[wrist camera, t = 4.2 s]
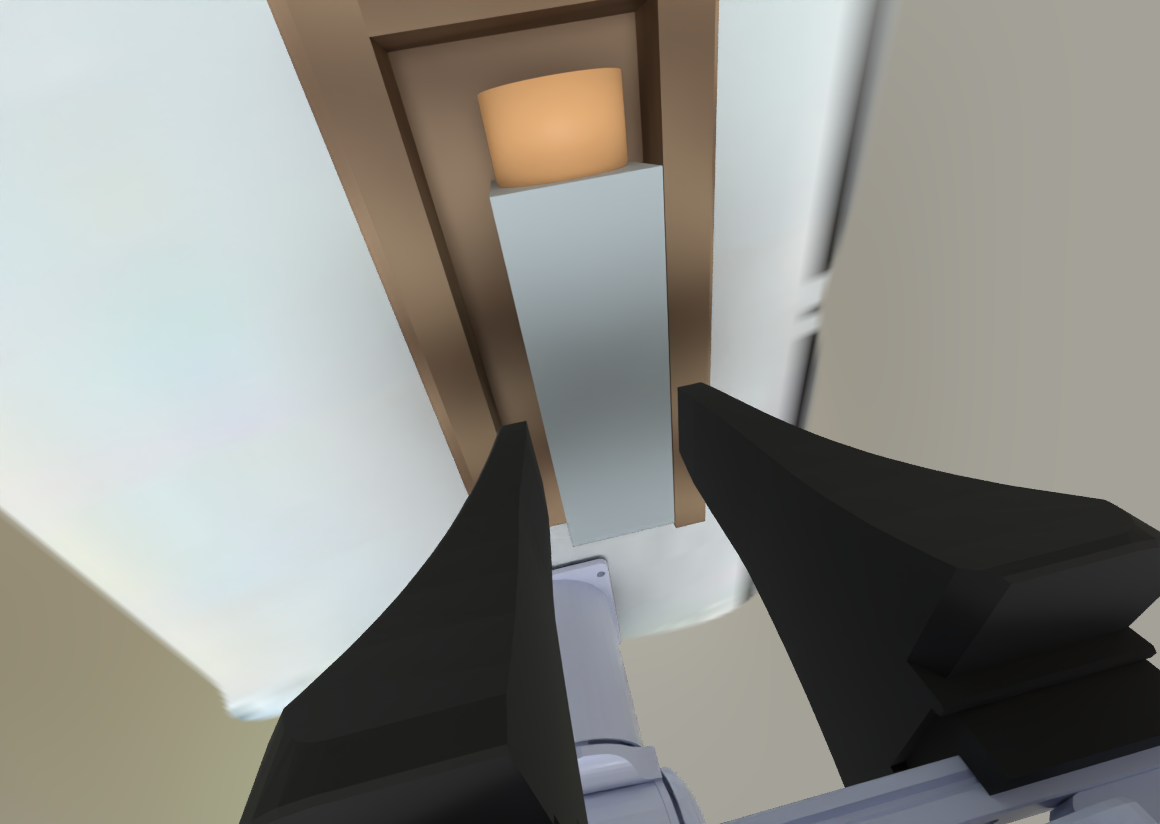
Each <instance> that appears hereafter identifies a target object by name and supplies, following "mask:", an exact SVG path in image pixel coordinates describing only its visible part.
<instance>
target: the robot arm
mask: <svg viewBox="0 0 1160 824" xmlns="http://www.w3.org/2000/svg"><path fill="white" fill-rule="evenodd" d="M677 391H678V431H679V452H680V455H681V457H682V459H683V461H684V464H685V466H686V468H687V470H688V472H689V475H690V477H691V479H692V481H693V483H694V485H695V486H696V488H697V490H698V491H699V493H700V495H701V496H702V498H703V499H704V501H705V503H706V504H707V506H708V507H709V509H710V511H711V512H712V514H713V515H714V517H715V519H716V520H717V522H718V523H719V525H720V526H721V528H722V530H723V531H724V533H725V534H726V536H727V537H728V539H729V541H730V542H731V544H732V545H733V547H734V549H735V550H736V552H737V553H738V555H739V557H740V558H741V560H742V562H743V564H744V565H745V567H746V569H747V571H748V572H749V574H750V576H751V578H752V580H753V582H754V584H755V586H756V588H757V590H758V592H759V594H760V596H761V598H762V600H763V602H764V604H765V606H766V608H767V611H768V612H769V615H770V617H771V619H772V621H773V623H774V625H775V627H776V629H777V631H778V634H779V636H780V638H781V640H782V642H783V644H784V646H785V648H786V651H787V653H788V655H789V657H790V660H791V662H792V664H793V666H794V668H795V671H796V673H797V675H798V677H799V680H800V682H801V684H802V686H803V689H804V691H805V693H806V695H807V698H808V700H809V702H810V704H811V707H812V709H813V712H814V714H815V716H816V719H817V721H818V723H819V726H820V728H821V731H822V733H823V735H824V737H825V740H826V742H827V745H828V747H829V750H830V752H831V754H832V757H833V759H834V761H835V764H836V767H837V769H838V772H839V774H840V776H841V779H842V781H843V784H844V787H845V788H843V789H839V790H836V791H832V792H829V793H825V794H822V795H819V796H815V797H812V798H808V799H804V800H801V801H798V802H794V803H791V804H787V805H784V806H781V807H777V808H773V809H770V810H766V811H763V812H759V813H756V814H752V815H749V816H746V817H742V818H738V819H735V820H731V821H728V822H724V823H721V824H1007V823H1010V822H1014V821H1017V820H1020V819H1023V818H1027V817H1030V816H1034V815H1037V814H1040V813H1043V812H1047V811H1050V810H1052V811H1050V822H1049V823H1046V824H1160V670H1159V669H1158V668H1156V667H1155V666H1154V665H1152V664H1151V663H1150V662H1149V661H1147V660H1146V659H1147V658H1151V657H1152V656H1153V655H1154V654H1156V650H1155V648H1154V646H1153V645H1152V644H1150V643H1149V642H1148V641H1147V640H1145V639H1144V638H1142V637H1141V636H1140V635H1139V634H1137V633H1136V632H1135V631H1133V630H1132V629H1131V628H1129V625H1130V624H1132V623H1133V622H1134V621H1135V620H1136V619H1137V618H1138V617H1139V616H1140V615H1141V614H1142V613H1143V612H1144V611H1145V610H1146V609H1147V608H1148V607H1149V606H1150V605H1151V604H1152V603H1153V602H1154V601H1155V600H1156V599H1157V598H1158V597H1160V532H1159V531H1158V530H1156V529H1155V528H1153V527H1151V526H1149V525H1148V524H1146V523H1144V522H1143V521H1141V520H1139V519H1138V518H1136V517H1134V516H1133V515H1131V514H1129V513H1128V512H1126V511H1124V510H1123V509H1121V508H1119V507H1118V506H1116V505H1114V504H1112V503H1110V502H1108V501H1106V500H1103V499H1096V498H1089V497H1083V496H1076V495H1069V494H1062V493H1056V492H1049V491H1042V490H1036V489H1029V488H1023V487H1015V486H1010V485H1005V484H999V483H994V482H989V481H984V480H979V479H973V478H969V477H964V476H959V475H954V474H950V473H945V472H941V471H936V470H932V469H928V468H924V467H920V466H916V465H912V464H908V463H904V462H901V461H897V460H893V459H889V458H885V457H882V456H878V455H875V454H872V453H868V452H865V451H862V450H859V449H856V448H853V447H850V446H847V445H844V444H841V443H838V442H835V441H832V440H829V439H827V438H824V437H821V436H818V435H816V434H813V433H811V432H808V431H806V430H804V429H801V428H799V427H796V426H794V425H791V424H789V423H787V422H784V421H782V420H780V419H778V418H775V417H773V416H771V415H769V414H767V413H764V412H762V411H760V410H758V409H756V408H754V407H752V406H750V405H748V404H746V403H744V402H742V401H740V400H738V399H736V398H734V397H732V396H730V395H728V394H726V393H724V392H721V391H719V390H717V389H715V388H713V387H711V386H709V385H707V384H704V383H702V382H699V383H695V384H690V385H686V386H681V387H677ZM620 643H621V637H620V632H619V626H618V621H617V615H616V609H615V604H614V598H613V593H612V587H611V581H610V576H609V570H608V565H607V562H606V560H604V559H596V560H592V561H588V562H584V563H579V564H575V565H571V566H567V567H563V568H559V569H555V570H552V562H551V544H550V527H549V515H548V509H547V503H546V498H545V492H544V486H543V481H542V477H541V474H540V470H539V466H538V463H537V459H536V455H535V451H534V448H533V444H532V440H531V436H530V433H529V429H528V425H527V421H523V422H518V423H513V424H509V425H504V426H501V428H500V429H499V431H498V433H497V436H496V439H495V441H494V444H493V447H492V449H491V451H490V454H489V456H488V458H487V461H486V463H485V465H484V467H483V469H482V471H481V473H480V475H479V477H478V479H477V481H476V483H475V485H474V487H473V489H472V491H471V493H470V495H469V496H468V498H467V500H466V502H465V503H464V505H463V507H462V509H461V510H460V512H459V514H458V516H457V517H456V519H455V520H454V522H453V524H452V525H451V527H450V528H449V530H448V531H447V533H446V534H445V536H444V537H443V539H442V540H441V542H440V543H439V544H438V546H437V547H436V549H435V550H434V552H433V553H432V554H431V556H430V557H429V558H428V560H427V561H426V562H425V563H424V565H423V566H422V567H421V569H420V570H419V571H418V572H417V574H416V575H415V576H414V577H413V579H412V580H411V581H410V582H409V583H408V585H407V586H406V587H405V588H404V590H403V591H402V592H401V593H400V594H399V596H398V597H397V598H396V599H395V600H394V601H393V602H392V603H391V604H390V606H389V607H388V608H387V609H386V610H385V611H384V612H383V613H382V614H381V615H380V617H379V618H378V619H377V620H376V621H375V622H374V623H373V624H372V625H371V626H370V627H369V628H368V629H367V630H366V631H365V632H364V633H363V634H362V635H361V636H360V637H359V638H358V639H357V640H356V641H355V642H354V643H353V644H352V645H351V646H350V647H349V648H348V649H347V650H346V651H345V652H344V653H343V654H342V655H341V656H340V657H339V658H338V659H337V660H336V661H335V662H334V663H333V664H332V665H330V666H329V667H328V668H327V669H326V670H325V671H324V672H323V673H322V674H321V675H320V676H319V677H318V678H317V679H316V680H314V681H313V682H312V683H311V684H310V685H309V686H308V687H307V688H306V689H305V690H304V691H303V692H302V693H301V694H299V695H298V696H297V697H296V698H295V699H294V700H293V701H292V702H291V703H289V704H288V705H287V706H286V707H285V708H284V709H283V711H282V714H281V716H280V718H279V721H278V723H277V725H276V727H275V730H274V732H273V734H272V736H271V739H270V741H269V743H268V746H267V749H266V752H265V754H264V757H263V760H262V762H261V765H260V768H259V771H258V773H257V776H256V779H255V782H254V785H253V788H252V790H251V793H250V795H249V798H248V801H247V804H246V806H245V809H244V812H243V815H242V817H241V820H240V822H239V824H706V822H705V819H704V817H703V814H702V812H701V809H700V807H699V805H698V803H697V801H696V799H695V797H694V795H693V793H692V791H691V790H690V788H689V787H688V786H687V784H686V783H685V782H684V781H683V780H681V779H680V778H679V776H678V775H677V774H676V773H675V772H674V771H673V770H672V769H671V768H669V767H663V768H660V767H659V763H658V760H657V756H656V752H655V748H654V746H647V747H644V745H643V741H642V737H641V733H640V729H639V725H638V721H637V717H636V713H635V709H634V705H633V701H632V697H631V693H630V689H629V685H628V681H627V677H626V673H625V669H624V664H623V660H622V656H621V652H620V648H619V644H620Z"/></svg>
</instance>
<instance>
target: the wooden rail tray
mask: <svg viewBox="0 0 1160 824" xmlns="http://www.w3.org/2000/svg"><path fill="white" fill-rule="evenodd" d="M267 2H268V5H269V7H270V9H271V12H272V14H273V17H274V19H275V22H276V24H277V27H278V29H279V31H280V34H281V36H282V39H283V41H284V44H285V46H286V49H287V51H288V54H289V56H290V58H291V61H292V63H293V66H294V68H295V71H296V73H297V76H298V78H299V81H300V83H301V85H302V88H303V90H304V93H305V95H306V98H307V100H308V103H309V105H310V107H311V110H312V112H313V115H314V117H315V120H316V122H317V125H318V127H319V130H320V132H321V134H322V137H323V139H324V142H325V144H326V147H327V149H328V152H329V154H330V157H331V159H332V161H333V164H334V166H335V169H336V171H337V174H338V176H339V179H340V181H341V183H342V186H343V188H344V191H345V193H346V196H347V198H348V201H349V203H350V206H351V208H352V210H353V213H354V215H355V218H356V220H357V223H358V225H359V228H360V230H361V233H362V235H363V237H364V240H365V242H366V245H367V247H368V250H369V252H370V255H371V257H372V260H373V262H374V264H375V267H376V269H377V272H378V274H379V277H380V279H381V282H382V284H383V286H384V289H385V291H386V294H387V296H388V299H389V301H390V304H391V306H392V309H393V311H394V313H395V316H396V318H397V321H398V323H399V326H400V328H401V331H402V333H403V336H404V338H405V340H406V343H407V345H408V348H409V350H410V353H411V355H412V358H413V360H414V362H415V365H416V367H417V370H418V372H419V375H420V377H421V380H422V382H423V385H424V387H425V389H426V392H427V394H428V397H429V399H430V402H431V404H432V407H433V409H434V412H435V414H436V416H437V419H438V421H439V424H440V426H441V429H442V431H443V434H444V436H445V438H446V441H447V443H448V446H449V448H450V451H451V453H452V456H453V458H454V461H455V463H456V465H457V468H458V470H459V473H460V475H461V478H462V480H463V483H464V485H465V488H466V490H467V492H468V495H470V493H471V491H472V489H473V487H474V485H475V483H476V481H477V479H478V477H479V475H480V473H481V471H482V469H483V467H484V465H485V463H486V461H487V458H488V456H489V454H490V451H491V449H492V447H493V444H494V441H495V439H496V436H497V433H498V431H499V429H500V428H501V426H504V425H509V424H513V423H518V422H523V421H527V425H528V429H529V433H530V436H531V440H532V444H533V448H534V451H535V455H536V459H537V463H538V466H539V470H540V474H541V477H542V481H543V486H544V492H545V498H546V503H547V509H548V515H549V527H550V526H554V525H559V524H563V523H567V521H566V517H565V512H564V508H563V504H562V500H561V496H560V491H559V487H558V483H557V479H556V475H555V470H554V466H553V462H552V458H551V454H550V449H549V445H548V441H547V437H546V433H545V428H544V424H543V420H542V416H541V412H540V407H539V403H538V399H537V395H536V391H535V386H534V382H533V378H532V374H531V370H530V365H529V361H528V357H527V353H526V349H525V344H524V340H523V336H522V332H521V328H520V323H519V319H518V315H517V311H516V307H515V302H514V298H513V294H512V290H511V286H510V281H509V277H508V273H507V269H506V265H505V260H504V256H503V252H502V248H501V244H500V239H499V235H498V231H497V227H496V223H495V218H494V214H493V210H492V206H491V202H490V186H491V181H494V180H496V177H495V173H494V168H493V164H492V159H491V155H490V151H489V146H488V142H487V137H486V133H485V128H484V124H483V120H482V115H481V111H480V106H479V102H478V97H477V95H478V94H479V93H481V92H483V91H486V90H489V89H492V88H495V87H499V86H502V85H506V84H510V83H514V82H519V81H523V80H528V79H533V78H538V77H543V76H548V75H554V74H560V73H566V72H573V71H580V70H588V69H598V68H619V69H621V74H622V88H623V101H624V115H625V129H626V143H627V157H628V161H631V162H638V163H646V164H654V165H662V166H663V195H664V225H665V255H666V284H667V314H668V344H669V374H670V404H671V434H672V463H673V493H674V525H675V527H676V528H678V527H682V526H686V525H691V524H695V523H699V522H703V521H705V501H704V499H703V498H702V496H701V495H700V493H699V491H698V490H697V488H696V486H695V485H694V483H693V481H692V479H691V477H690V475H689V472H688V470H687V468H686V466H685V464H684V461H683V459H682V457H681V455H680V452H679V431H678V391H677V387H681V386H686V385H690V384H695V383H699V382H702V383H704V384H707V385H709V386H710V357H711V315H712V273H713V231H714V189H715V147H716V105H717V63H718V21H719V0H267Z"/></svg>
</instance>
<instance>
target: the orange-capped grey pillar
mask: <svg viewBox="0 0 1160 824" xmlns="http://www.w3.org/2000/svg"><path fill="white" fill-rule="evenodd" d="M477 97H478V102H479V106H480V111H481V115H482V120H483V124H484V128H485V133H486V137H487V142H488V146H489V151H490V155H491V159H492V164H493V168H494V173H495V177H496V180H494V181H491V186H490V202H491V206H492V210H493V214H494V218H495V223H496V227H497V231H498V235H499V239H500V244H501V248H502V252H503V256H504V260H505V265H506V269H507V273H508V277H509V281H510V286H511V290H512V294H513V298H514V302H515V307H516V311H517V315H518V319H519V323H520V328H521V332H522V336H523V340H524V344H525V349H526V353H527V357H528V361H529V365H530V370H531V374H532V378H533V382H534V386H535V391H536V395H537V399H538V403H539V407H540V412H541V416H542V420H543V424H544V428H545V433H546V437H547V441H548V445H549V449H550V454H551V458H552V462H553V466H554V470H555V475H556V479H557V483H558V487H559V491H560V496H561V500H562V504H563V508H564V512H565V517H566V521H567V525H568V529H569V534H570V538H571V542H572V546H573V547H575V546H579V545H583V544H588V543H592V542H596V541H600V540H604V539H608V538H613V537H617V536H621V535H625V534H629V533H634V532H638V531H642V530H646V529H650V528H654V527H659V526H663V525H667V524H671V523H674V493H673V463H672V434H671V404H670V374H669V344H668V314H667V284H666V255H665V225H664V195H663V166H662V165H654V164H646V163H638V162H631V161H628V157H627V143H626V129H625V115H624V101H623V88H622V74H621V69H619V68H598V69H588V70H580V71H573V72H566V73H560V74H554V75H548V76H543V77H538V78H533V79H528V80H523V81H519V82H514V83H510V84H506V85H502V86H499V87H495V88H492V89H489V90H486V91H483V92H481V93H479V94H478V95H477Z"/></svg>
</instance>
